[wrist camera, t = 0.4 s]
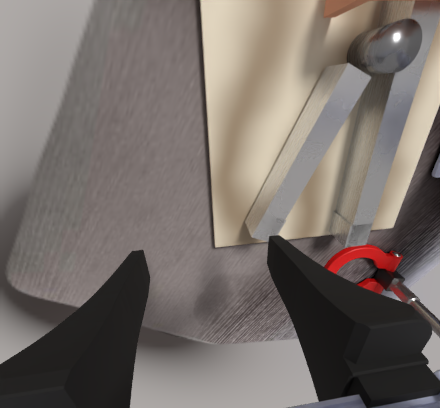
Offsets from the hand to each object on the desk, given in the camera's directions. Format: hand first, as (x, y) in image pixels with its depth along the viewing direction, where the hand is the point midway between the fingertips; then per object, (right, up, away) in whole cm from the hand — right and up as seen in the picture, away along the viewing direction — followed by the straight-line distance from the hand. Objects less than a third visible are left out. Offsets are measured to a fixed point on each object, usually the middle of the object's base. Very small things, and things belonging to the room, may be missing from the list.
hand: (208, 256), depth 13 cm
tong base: (+12, +9, +6) cm, 17 cm away
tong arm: (+7, +7, +6) cm, 12 cm away
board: (+10, +10, +7) cm, 15 cm away
